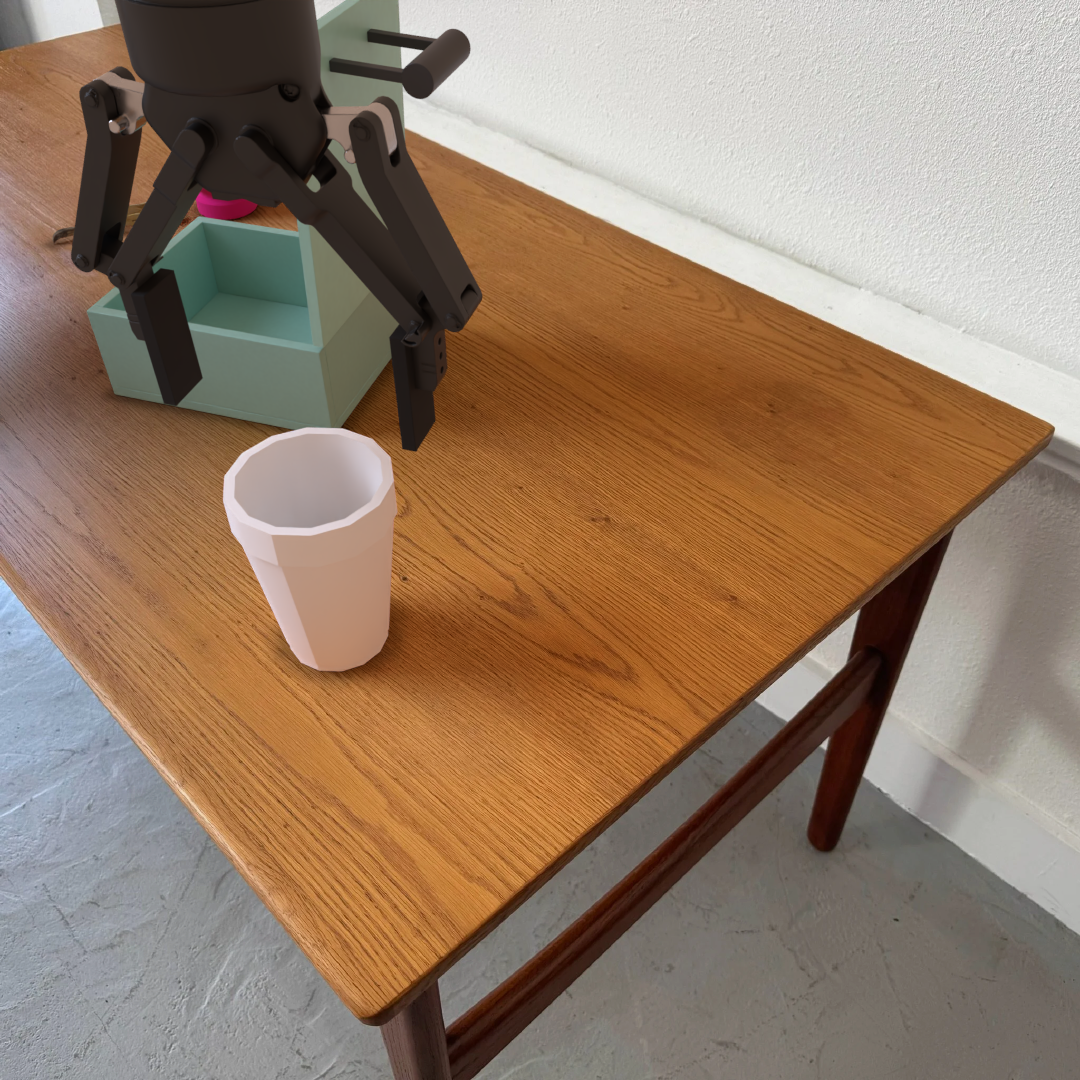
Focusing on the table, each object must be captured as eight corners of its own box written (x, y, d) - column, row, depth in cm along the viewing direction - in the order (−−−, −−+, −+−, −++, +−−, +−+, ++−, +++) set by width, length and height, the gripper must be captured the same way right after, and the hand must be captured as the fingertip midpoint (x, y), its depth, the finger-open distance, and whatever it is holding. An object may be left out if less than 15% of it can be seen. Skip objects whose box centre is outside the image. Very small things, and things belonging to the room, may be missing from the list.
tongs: (49, 239, 105) (44, 220, 103) (173, 211, 111) (170, 193, 109) (62, 255, 102) (56, 236, 101) (188, 226, 108) (185, 207, 107)
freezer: (114, 394, 85) (85, 310, 80) (217, 295, 97) (198, 215, 91) (333, 438, 81) (319, 352, 76) (413, 328, 93) (405, 247, 87)
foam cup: (421, 584, 69) (404, 429, 60) (403, 693, 63) (381, 537, 54) (281, 580, 70) (244, 425, 61) (248, 688, 63) (201, 532, 54)
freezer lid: (274, 48, 61) (401, 69, 60) (385, -29, 73) (494, -13, 71) (312, 345, 75) (416, 367, 74) (400, 241, 87) (491, 258, 86)
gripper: (548, -39, 39) (546, 412, 54) (-2, -84, 45) (131, 338, 59) (484, 20, 34) (501, 502, 49) (-131, -38, 39) (50, 412, 54)
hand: (298, 413), depth 54 cm, fingers open, 13 cm apart
